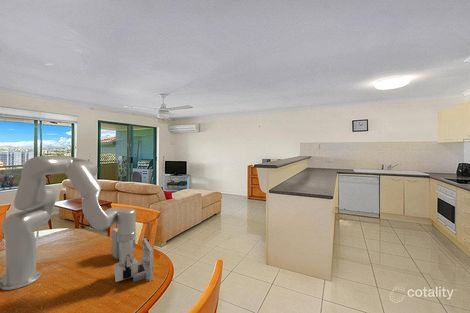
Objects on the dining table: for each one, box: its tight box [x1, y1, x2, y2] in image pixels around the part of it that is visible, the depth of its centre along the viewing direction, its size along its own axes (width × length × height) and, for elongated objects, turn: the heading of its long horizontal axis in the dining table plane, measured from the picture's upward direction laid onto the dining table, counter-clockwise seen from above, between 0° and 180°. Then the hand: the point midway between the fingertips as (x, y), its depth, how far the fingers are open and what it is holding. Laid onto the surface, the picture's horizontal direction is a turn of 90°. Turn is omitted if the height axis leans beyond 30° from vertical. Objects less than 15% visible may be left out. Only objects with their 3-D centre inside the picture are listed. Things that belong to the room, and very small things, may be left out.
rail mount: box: [132, 237, 154, 283], centre depth 99 cm, size 8×16×14 cm, turn 35°
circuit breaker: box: [110, 227, 136, 260], centre depth 116 cm, size 8×14×15 cm, turn 53°
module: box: [114, 258, 139, 283], centre depth 95 cm, size 9×5×6 cm, turn 125°
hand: (126, 274), depth 95 cm, fingers closed on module, 5 cm apart
